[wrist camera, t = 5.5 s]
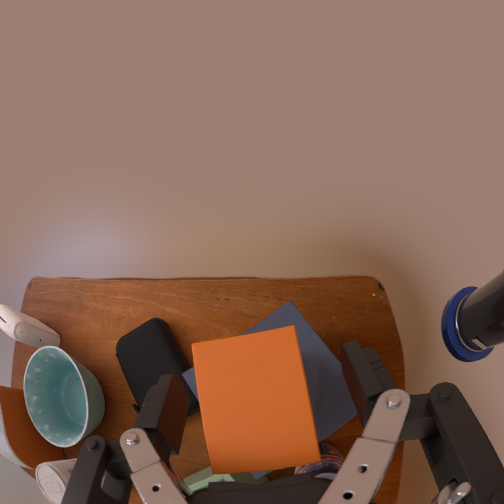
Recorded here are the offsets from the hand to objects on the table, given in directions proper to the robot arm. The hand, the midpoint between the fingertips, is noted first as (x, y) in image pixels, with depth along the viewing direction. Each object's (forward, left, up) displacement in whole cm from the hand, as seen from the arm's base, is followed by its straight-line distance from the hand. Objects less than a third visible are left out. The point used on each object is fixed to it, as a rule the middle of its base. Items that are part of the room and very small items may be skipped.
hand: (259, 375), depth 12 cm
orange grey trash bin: (+45, -11, -24) cm, 52 cm away
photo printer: (+35, -28, -24) cm, 50 cm away
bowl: (+30, -13, -24) cm, 40 cm away
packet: (+1, +1, -7) cm, 7 cm away
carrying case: (+15, -10, -24) cm, 30 cm away
